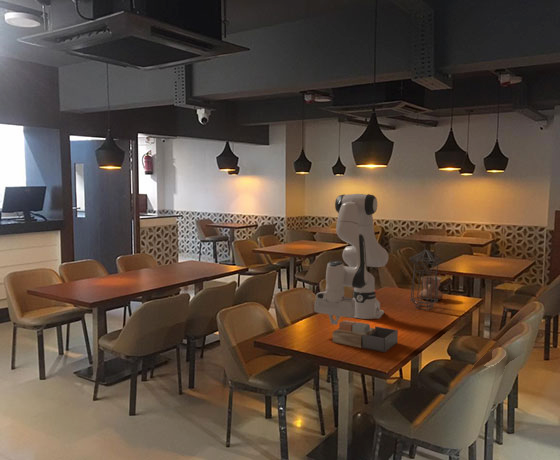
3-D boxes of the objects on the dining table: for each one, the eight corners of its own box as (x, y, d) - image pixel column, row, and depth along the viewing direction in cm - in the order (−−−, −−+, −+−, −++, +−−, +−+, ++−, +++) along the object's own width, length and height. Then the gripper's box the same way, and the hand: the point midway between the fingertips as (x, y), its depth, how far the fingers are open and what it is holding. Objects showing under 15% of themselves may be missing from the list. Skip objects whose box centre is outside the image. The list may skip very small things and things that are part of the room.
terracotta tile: (344, 326, 233) (344, 320, 233) (356, 328, 230) (356, 322, 229) (339, 329, 228) (339, 322, 228) (351, 331, 225) (351, 324, 224)
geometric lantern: (406, 308, 292) (408, 249, 290) (417, 304, 304) (419, 248, 302) (432, 312, 282) (434, 251, 280) (442, 308, 294) (444, 249, 292)
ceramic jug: (421, 295, 327) (421, 274, 325) (444, 297, 321) (444, 276, 319) (416, 301, 310) (417, 279, 309) (440, 303, 304) (441, 281, 303)
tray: (375, 338, 230) (375, 326, 230) (397, 342, 224) (397, 330, 224) (361, 347, 217) (361, 334, 216) (384, 352, 211) (385, 338, 211)
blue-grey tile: (357, 328, 229) (357, 322, 229) (369, 330, 226) (369, 324, 226) (352, 331, 224) (352, 325, 224) (364, 333, 221) (364, 327, 221)
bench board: (347, 333, 238) (347, 323, 238) (374, 338, 230) (374, 328, 230) (332, 342, 225) (332, 331, 224) (360, 347, 217) (361, 336, 217)
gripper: (357, 297, 228) (357, 326, 230) (319, 291, 239) (318, 319, 241) (352, 299, 223) (351, 329, 224) (312, 293, 234) (312, 322, 235)
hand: (334, 324), depth 233 cm, fingers closed
